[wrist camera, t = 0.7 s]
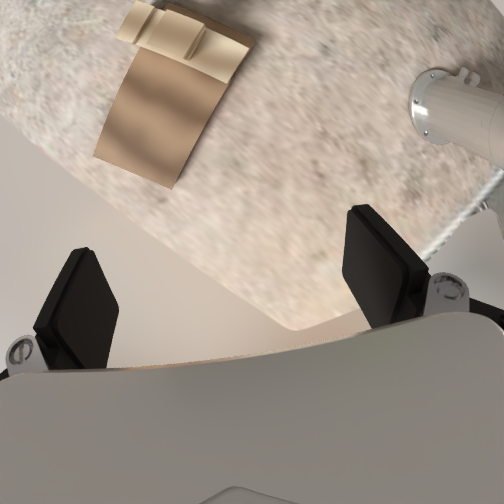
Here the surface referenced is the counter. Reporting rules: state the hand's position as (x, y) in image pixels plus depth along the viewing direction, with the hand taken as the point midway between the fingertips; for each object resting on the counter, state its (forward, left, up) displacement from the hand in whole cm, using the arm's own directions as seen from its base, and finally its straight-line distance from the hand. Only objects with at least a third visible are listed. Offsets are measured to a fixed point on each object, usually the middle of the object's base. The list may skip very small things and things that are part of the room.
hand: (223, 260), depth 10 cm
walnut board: (0, -7, -30) cm, 31 cm away
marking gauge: (-7, -9, -30) cm, 32 cm away
